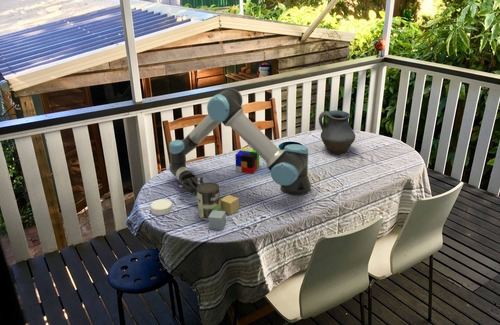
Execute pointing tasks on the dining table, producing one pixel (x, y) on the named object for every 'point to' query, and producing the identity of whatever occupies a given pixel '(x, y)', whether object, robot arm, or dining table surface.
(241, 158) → the puzzle toy
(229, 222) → the dining table surface
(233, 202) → the ochre block
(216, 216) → the slate block
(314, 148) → the dining table surface
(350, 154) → the dining table surface
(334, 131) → the pitcher
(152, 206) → the cream disc
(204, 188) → the coffee can
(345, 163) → the dining table surface
